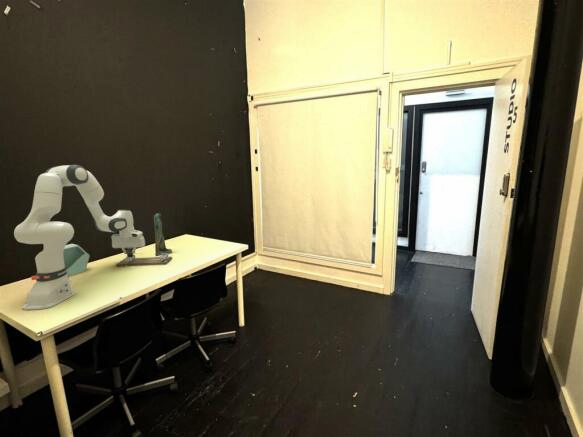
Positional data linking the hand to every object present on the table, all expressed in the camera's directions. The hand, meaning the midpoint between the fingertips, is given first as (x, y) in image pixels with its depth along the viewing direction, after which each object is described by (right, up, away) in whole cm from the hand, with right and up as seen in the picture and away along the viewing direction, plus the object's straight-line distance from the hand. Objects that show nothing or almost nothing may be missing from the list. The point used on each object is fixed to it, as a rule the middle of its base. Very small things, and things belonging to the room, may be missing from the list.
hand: (129, 253), depth 203 cm
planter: (-28, -11, -15) cm, 33 cm away
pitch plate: (+9, -6, +2) cm, 11 cm away
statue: (+14, -2, +21) cm, 25 cm away
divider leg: (0, -5, 0) cm, 5 cm away
